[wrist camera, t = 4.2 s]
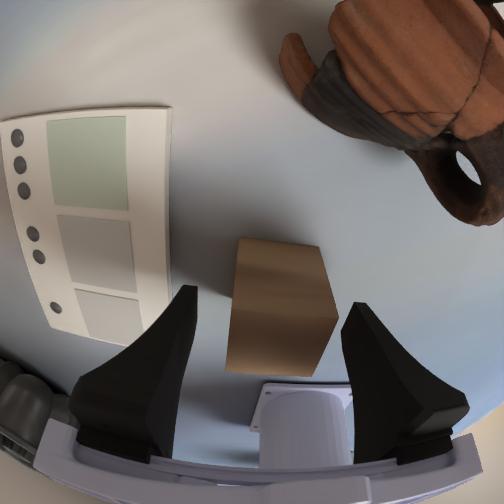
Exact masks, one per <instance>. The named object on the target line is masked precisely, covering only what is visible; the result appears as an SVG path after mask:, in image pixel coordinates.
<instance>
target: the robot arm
mask: <svg viewBox="0 0 504 504" xmlns="http://www.w3.org/2000/svg"><path fill="white" fill-rule="evenodd" d="M197 300H198V286H191V285H183V286H182V287H181V288H180V290H179V291H178V293H177V294H176V296H175V297H174V298H173V300H172V301H171V302H170V304H169V305H168V306H167V308H166V309H165V310H164V311H163V312H162V314H161V315H160V316H159V317H158V318H157V319H156V320H155V321H154V323H153V324H152V325H151V326H150V327H149V328H148V329H147V330H146V331H145V332H144V333H143V334H142V335H141V336H140V337H139V338H138V339H136V340H135V341H134V342H133V343H132V344H131V345H129V346H128V347H127V348H126V349H124V350H123V351H122V352H120V353H119V354H118V355H116V356H115V357H113V358H112V359H110V360H109V361H107V362H106V363H104V364H103V365H101V366H99V367H98V368H96V369H94V370H92V371H90V372H88V373H86V374H85V375H83V376H80V378H79V380H78V382H77V383H76V385H75V387H74V389H73V391H72V394H71V396H70V399H69V401H68V408H69V409H70V411H71V413H72V414H73V415H74V416H75V418H76V419H77V420H78V421H79V423H80V424H81V425H80V428H79V431H78V430H77V429H76V428H74V427H72V426H70V425H67V424H64V423H62V422H59V421H57V420H54V419H52V418H50V419H48V422H47V425H46V427H45V430H44V433H43V436H42V439H41V441H40V444H39V447H38V450H37V453H36V456H35V459H34V463H33V467H34V468H35V469H37V470H38V471H40V472H41V473H43V474H45V475H46V476H48V477H50V478H51V479H53V480H55V481H57V482H58V483H61V484H63V485H65V486H67V487H70V488H72V489H75V490H77V491H80V492H82V493H85V494H87V495H90V496H93V497H96V498H98V499H101V500H104V501H107V502H110V503H113V504H413V503H416V502H419V501H422V500H425V499H428V498H431V497H434V496H436V495H439V494H442V493H444V492H447V491H449V490H451V489H454V488H456V487H458V486H460V485H462V484H464V483H466V482H467V481H469V480H471V479H473V478H475V477H477V476H478V475H480V474H482V473H483V469H482V466H481V462H480V459H479V455H478V452H477V448H476V445H475V442H474V438H473V435H472V433H469V434H466V435H463V436H460V437H457V438H455V439H453V440H451V437H450V435H452V434H453V430H452V427H453V426H454V425H455V424H456V423H458V422H459V421H460V420H461V419H462V418H463V417H464V416H465V415H466V414H467V413H468V412H469V409H470V407H469V404H468V402H467V399H466V396H465V394H464V393H463V392H461V391H459V390H457V389H455V388H454V387H452V386H450V385H448V384H447V383H445V382H444V381H442V380H441V379H439V378H438V377H436V376H435V375H434V374H432V373H431V372H430V371H429V370H427V369H426V368H425V367H424V366H422V365H421V364H420V363H419V362H418V361H417V360H416V359H415V358H414V357H412V356H411V355H410V354H409V353H408V352H407V351H406V350H405V349H404V348H403V346H402V345H401V344H400V343H399V342H398V341H397V340H396V339H395V338H394V336H393V335H392V334H391V333H390V332H389V331H388V329H387V328H386V327H385V326H384V325H383V323H382V322H381V321H380V320H379V318H378V317H377V316H376V315H375V313H374V312H373V311H372V310H371V309H370V307H369V306H368V305H367V304H366V303H361V302H354V303H353V305H352V308H351V310H350V312H349V314H348V317H347V319H346V321H345V323H344V325H343V327H342V329H341V342H342V350H343V355H344V359H345V364H346V368H347V372H348V377H349V381H350V385H308V384H282V383H266V384H264V385H263V387H262V390H261V393H260V396H259V400H258V403H257V406H256V409H255V412H254V415H253V419H252V422H251V425H250V431H251V432H258V433H260V443H259V468H241V467H228V466H217V465H208V464H200V463H193V462H186V461H180V460H174V459H172V452H173V442H174V433H175V424H176V417H177V409H178V402H179V396H180V390H181V384H182V380H183V376H184V372H185V369H186V365H187V362H188V358H189V355H190V351H191V347H192V344H193V340H194V336H195V330H196V324H197ZM352 399H353V408H354V428H355V435H354V460H353V465H352V458H351V451H350V444H349V438H348V431H347V425H346V419H345V413H344V410H345V408H346V407H347V406H348V405H349V403H350V402H351V401H352ZM217 484H227V485H241V486H217Z"/></svg>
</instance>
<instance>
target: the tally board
mask: <svg viewBox="0 0 504 504" xmlns="http://www.w3.org/2000/svg"><path fill="white" fill-rule="evenodd" d="M171 122H172V107H119V108H98V109H83V110H72V111H62V112H53V113H45V114H38V115H31V116H25V117H19V118H13V119H8V120H6V121H3V122H0V134H1V145H2V154H3V162H4V170H5V176H6V182H7V188H8V193H9V199H10V204H11V208H12V213H13V217H14V221H15V225H16V229H17V233H18V237H19V241H20V244H21V248H22V251H23V254H24V258H25V261H26V264H27V267H28V270H29V273H30V276H31V279H32V282H33V284H34V287H35V290H36V293H37V295H38V298H39V300H40V303H41V305H42V308H43V310H44V313H45V315H46V317H47V320H48V322H49V324H50V326H51V328H54V329H58V330H61V331H65V332H69V333H72V334H76V335H80V336H84V337H88V338H92V339H96V340H100V341H104V342H109V343H113V344H118V345H122V346H127V347H128V346H129V345H131V344H132V343H133V342H134V341H135V340H136V339H138V338H139V337H140V336H141V335H142V334H143V333H144V332H145V331H146V330H147V329H148V328H149V327H150V326H151V325H152V324H153V323H154V321H155V320H156V319H157V318H158V317H159V316H160V315H161V314H162V312H163V311H164V310H165V309H166V308H167V306H168V305H169V304H170V302H171V301H172V290H171V270H170V239H169V171H170V141H171Z"/></svg>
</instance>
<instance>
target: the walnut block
mask: <svg viewBox="0 0 504 504" xmlns="http://www.w3.org/2000/svg"><path fill="white" fill-rule="evenodd" d="M338 319H339V316H338V312H337V308H336V304H335V301H334V297H333V294H332V290H331V287H330V283H329V280H328V276H327V273H326V269H325V266H324V263H323V259H322V256H321V253H320V249H319V247H314V246H306V245H297V244H289V243H281V242H272V241H264V240H255V239H246V238H239V244H238V253H237V262H236V271H235V280H234V289H233V299H232V308H231V318H230V327H229V337H228V347H227V357H226V367H225V371H229V372H239V373H250V374H263V375H279V376H303V377H312V375H313V373H314V371H315V369H316V367H317V365H318V363H319V361H320V359H321V357H322V355H323V352H324V350H325V348H326V346H327V344H328V342H329V339H330V337H331V335H332V333H333V330H334V328H335V326H336V324H337V321H338Z"/></svg>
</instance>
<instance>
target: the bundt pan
mask: <svg viewBox="0 0 504 504" xmlns="http://www.w3.org/2000/svg"><path fill="white" fill-rule="evenodd" d="M68 401H69V397H68V396H67V395H65V394H58V393H53V392H52V390H51V389H50V387H49V386H48V385H47V384H46V383H45V382H44V381H43V380H41V379H40V378H38V377H36V376H33V375H29V374H25V373H24V371H23V370H22V368H21V367H20V366H19V365H18V364H17V363H15V362H12V361H8V362H5V361H4V360H2V359H1V358H0V450H1V451H3V452H4V453H5V454H7V455H8V456H10V457H11V458H13V459H15V460H16V461H18V462H19V463H21V464H23V465H24V466H26V467H28V468H30V469H32V470H34V471H36V472H38V473H39V474H41V475H43V476H45V477H47V478H49V479H51V478H50V477H48V476H46V475H45V474H43V473H41V472H40V471H38V470H37V469H35V468H34V467H33V463H34V459H35V456H36V453H37V450H38V447H39V444H40V441H41V439H42V436H43V433H44V430H45V427H46V425H47V422H48V419H50V418H52V419H54V420H57V421H59V422H62V423H64V424H67V425H70V426H72V427H74V428H76V429H77V430H78V431H79V428H80V425H81V424H80V423H79V421H78V420H77V419H76V418H75V416H74V415H73V414H72V413H71V411H70V409H69V408H68ZM52 480H53V479H52ZM54 481H55V480H54ZM56 482H57V481H56ZM60 484H61V483H60Z"/></svg>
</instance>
